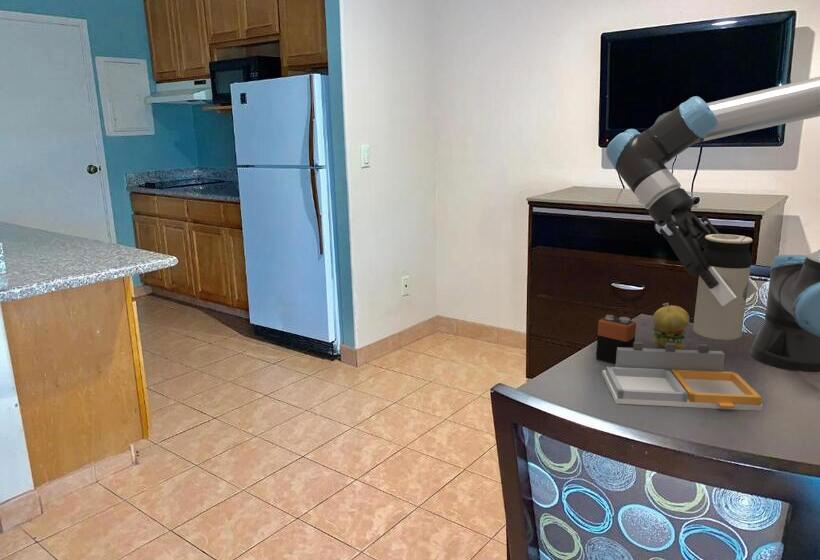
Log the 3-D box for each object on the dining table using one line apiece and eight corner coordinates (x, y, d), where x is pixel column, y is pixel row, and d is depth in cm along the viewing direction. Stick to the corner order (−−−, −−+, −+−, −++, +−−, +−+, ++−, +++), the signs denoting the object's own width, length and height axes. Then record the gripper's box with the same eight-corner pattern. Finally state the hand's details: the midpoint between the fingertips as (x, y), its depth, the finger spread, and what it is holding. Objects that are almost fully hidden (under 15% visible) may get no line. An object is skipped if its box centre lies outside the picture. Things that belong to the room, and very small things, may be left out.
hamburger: (691, 352, 135) (697, 301, 133) (677, 360, 131) (682, 307, 128) (658, 344, 141) (663, 294, 138) (643, 351, 136) (648, 300, 133)
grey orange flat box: (731, 380, 120) (735, 344, 118) (765, 413, 105) (770, 374, 103) (602, 374, 123) (604, 340, 121) (617, 406, 108) (620, 367, 107)
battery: (624, 367, 127) (628, 322, 125) (595, 359, 131) (598, 315, 129) (633, 361, 130) (637, 317, 128) (604, 354, 135) (607, 311, 132)
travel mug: (685, 333, 110) (696, 237, 106) (702, 324, 116) (713, 232, 112) (732, 344, 105) (745, 242, 101) (747, 334, 110) (760, 237, 106)
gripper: (678, 208, 123) (750, 299, 115) (619, 215, 111) (694, 319, 102) (707, 183, 118) (784, 277, 109) (648, 188, 106) (730, 295, 97)
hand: (741, 297), depth 106 cm, fingers closed on travel mug, 8 cm apart
